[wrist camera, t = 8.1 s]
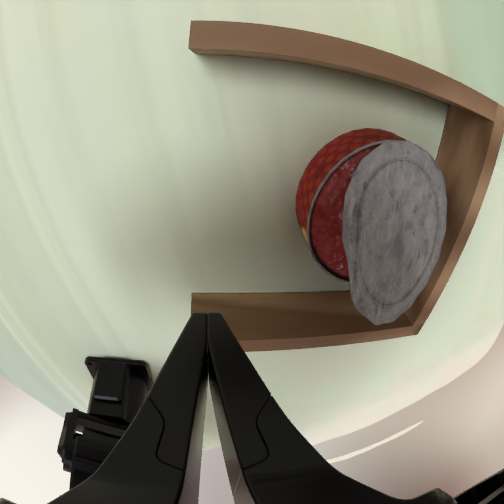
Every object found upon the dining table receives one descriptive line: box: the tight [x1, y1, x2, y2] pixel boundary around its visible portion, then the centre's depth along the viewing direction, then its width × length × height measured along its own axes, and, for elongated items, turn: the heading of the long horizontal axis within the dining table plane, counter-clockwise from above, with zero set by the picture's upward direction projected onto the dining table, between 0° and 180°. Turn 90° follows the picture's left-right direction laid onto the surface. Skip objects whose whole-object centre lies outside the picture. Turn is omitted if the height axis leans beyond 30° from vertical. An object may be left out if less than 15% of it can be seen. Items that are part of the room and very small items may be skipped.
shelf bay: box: [189, 21, 504, 352], centre depth 17 cm, size 18×18×4 cm
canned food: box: [296, 128, 447, 325], centre depth 17 cm, size 11×10×10 cm
